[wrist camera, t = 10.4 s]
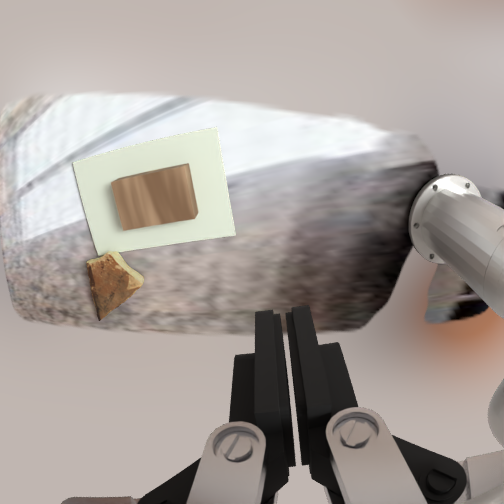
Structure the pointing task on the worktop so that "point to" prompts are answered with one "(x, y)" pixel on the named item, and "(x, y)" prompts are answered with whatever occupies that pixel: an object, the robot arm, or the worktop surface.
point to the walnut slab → (155, 197)
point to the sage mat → (147, 159)
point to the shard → (111, 282)
